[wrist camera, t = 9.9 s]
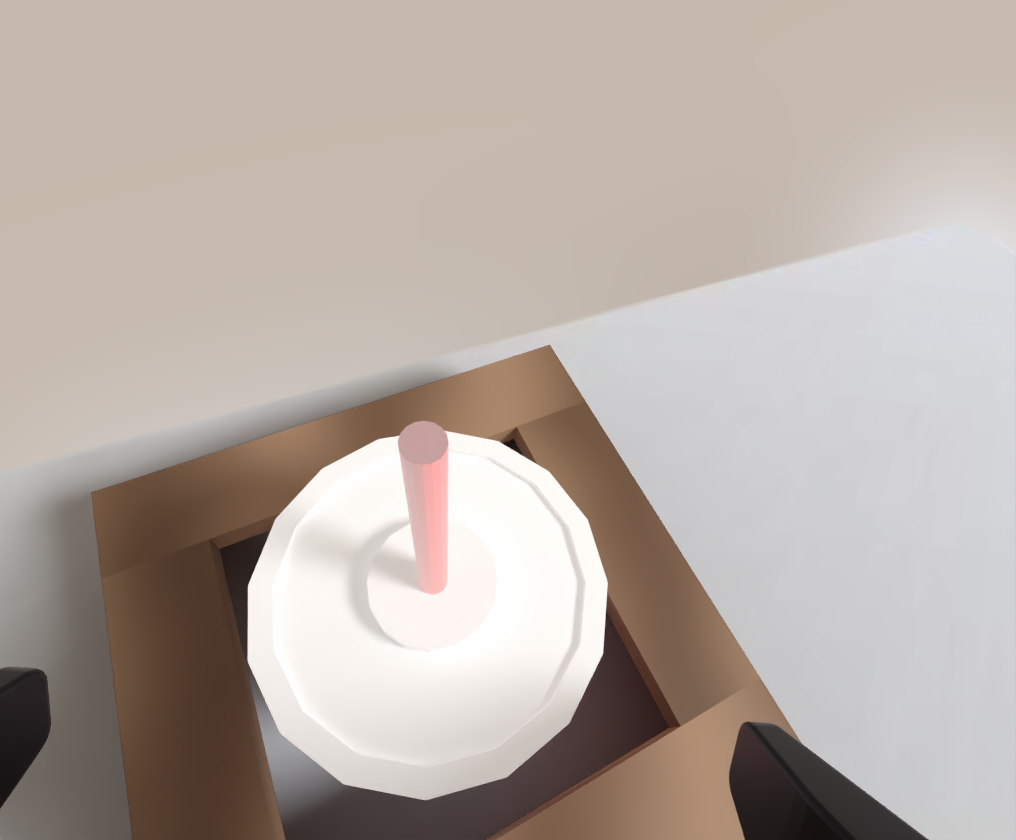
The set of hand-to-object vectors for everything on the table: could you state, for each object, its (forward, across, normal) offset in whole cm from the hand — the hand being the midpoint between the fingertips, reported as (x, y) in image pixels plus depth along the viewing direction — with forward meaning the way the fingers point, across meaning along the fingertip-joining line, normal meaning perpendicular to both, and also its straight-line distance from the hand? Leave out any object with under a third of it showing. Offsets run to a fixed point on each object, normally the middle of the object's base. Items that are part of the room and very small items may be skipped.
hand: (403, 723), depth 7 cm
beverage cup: (+9, 0, +6) cm, 11 cm away
